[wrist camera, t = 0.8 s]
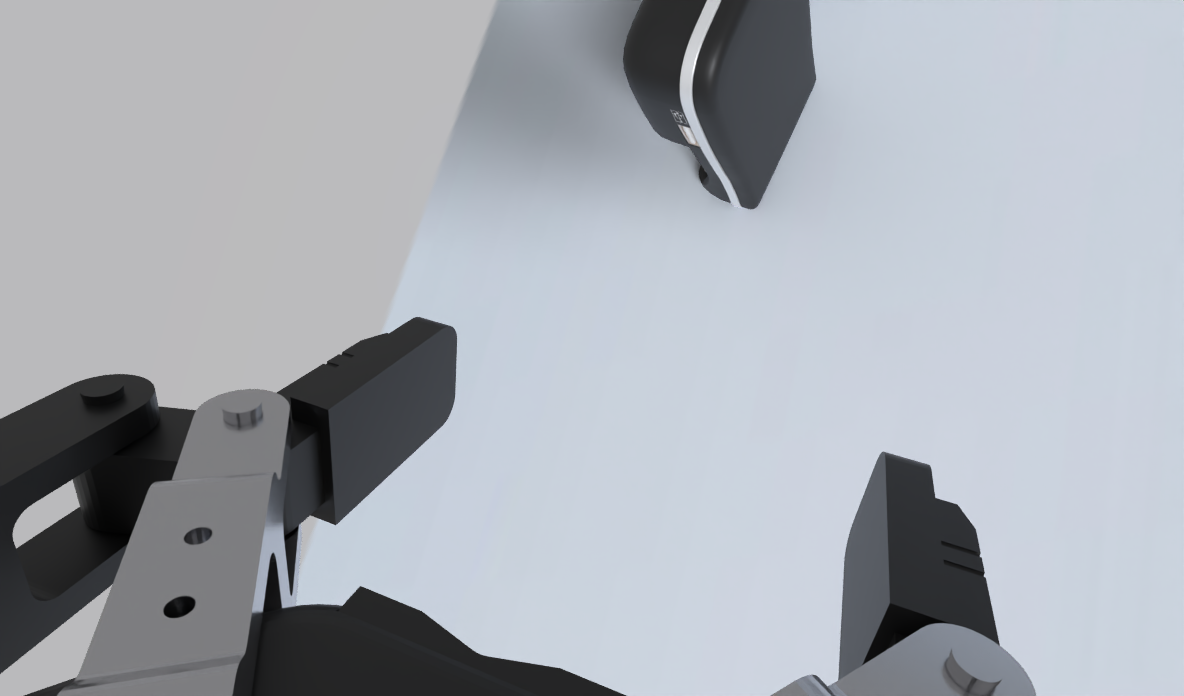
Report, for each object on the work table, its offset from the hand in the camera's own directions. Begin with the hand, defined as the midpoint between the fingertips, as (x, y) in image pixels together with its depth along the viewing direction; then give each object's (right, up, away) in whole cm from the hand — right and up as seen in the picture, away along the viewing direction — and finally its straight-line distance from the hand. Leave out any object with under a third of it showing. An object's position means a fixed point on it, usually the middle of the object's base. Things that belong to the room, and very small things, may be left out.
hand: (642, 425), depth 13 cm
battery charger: (+6, +11, +19) cm, 23 cm away
